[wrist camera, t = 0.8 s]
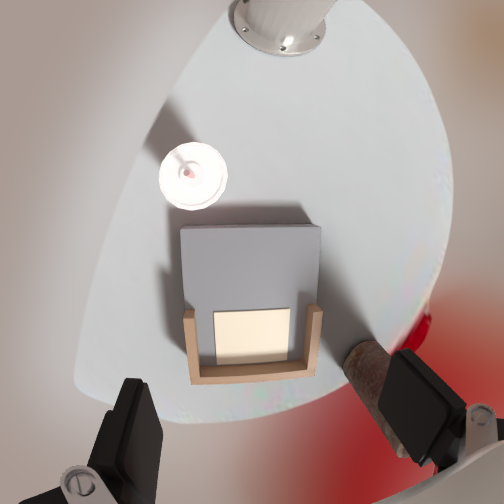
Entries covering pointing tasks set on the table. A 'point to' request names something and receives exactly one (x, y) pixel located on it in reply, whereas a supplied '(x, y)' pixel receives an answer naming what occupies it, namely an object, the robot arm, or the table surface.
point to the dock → (251, 301)
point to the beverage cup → (193, 176)
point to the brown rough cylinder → (372, 384)
